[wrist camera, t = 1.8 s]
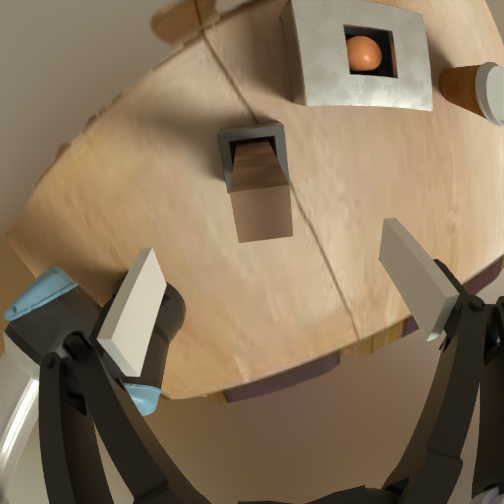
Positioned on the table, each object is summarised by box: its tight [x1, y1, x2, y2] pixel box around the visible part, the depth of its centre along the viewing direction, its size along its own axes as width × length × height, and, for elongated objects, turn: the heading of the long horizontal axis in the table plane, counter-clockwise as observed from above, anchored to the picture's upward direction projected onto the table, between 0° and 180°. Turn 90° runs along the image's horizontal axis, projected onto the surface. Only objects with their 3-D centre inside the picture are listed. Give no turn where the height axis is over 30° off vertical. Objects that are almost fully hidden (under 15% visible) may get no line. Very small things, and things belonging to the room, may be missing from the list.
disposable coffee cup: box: [440, 62, 504, 127], centre depth 23 cm, size 10×10×12 cm
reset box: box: [280, 0, 432, 111], centre depth 24 cm, size 16×13×9 cm
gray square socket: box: [217, 122, 290, 194], centre depth 34 cm, size 8×8×4 cm
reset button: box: [346, 36, 382, 71], centre depth 24 cm, size 4×4×4 cm
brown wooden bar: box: [230, 137, 293, 243], centre depth 27 cm, size 4×4×20 cm
